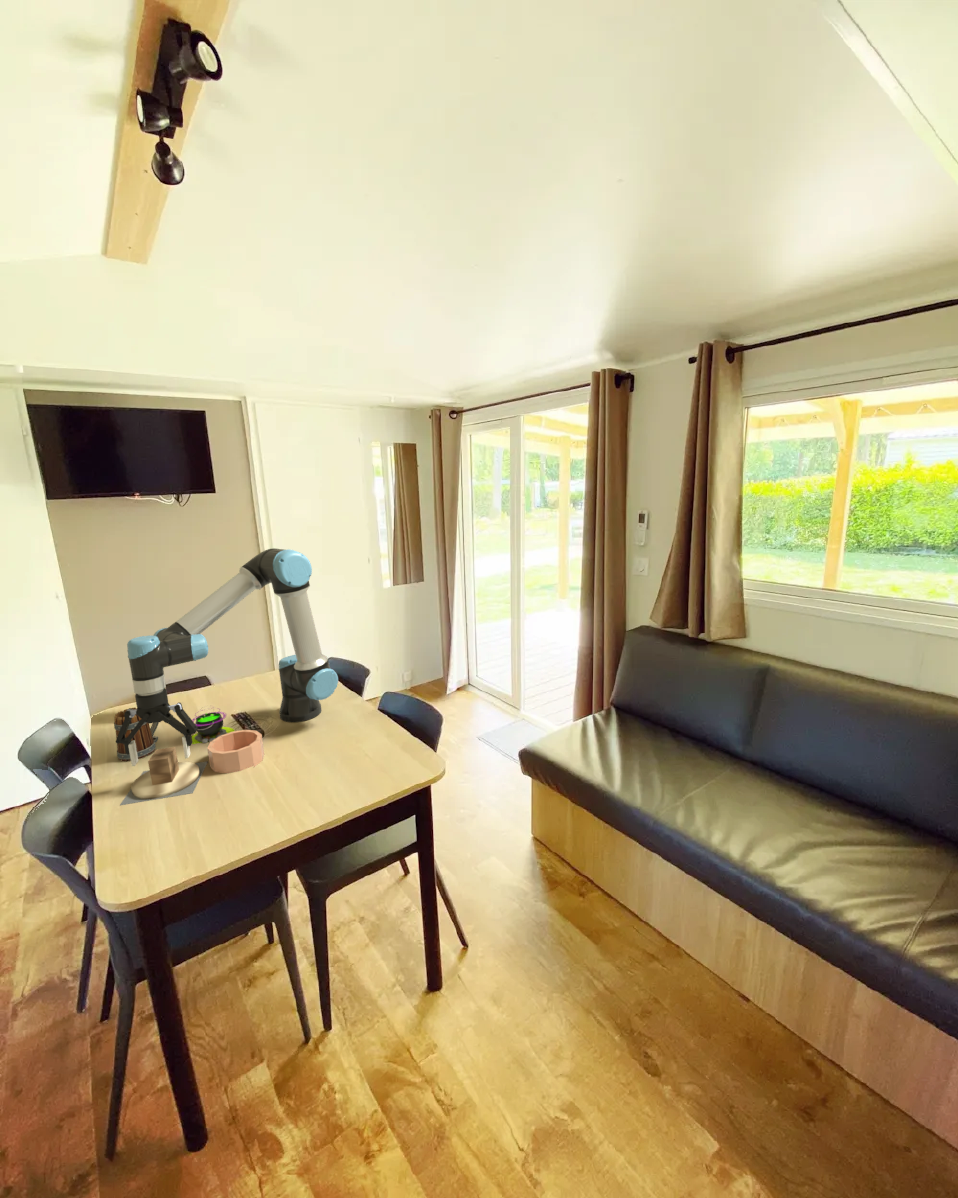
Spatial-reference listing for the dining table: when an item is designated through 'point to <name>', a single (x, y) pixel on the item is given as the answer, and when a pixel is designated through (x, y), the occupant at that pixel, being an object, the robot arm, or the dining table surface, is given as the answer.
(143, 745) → the mug
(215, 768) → the bowl
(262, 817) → the dining table surface
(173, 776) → the lid
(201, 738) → the toy cauldron
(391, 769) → the dining table surface
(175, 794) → the mat
